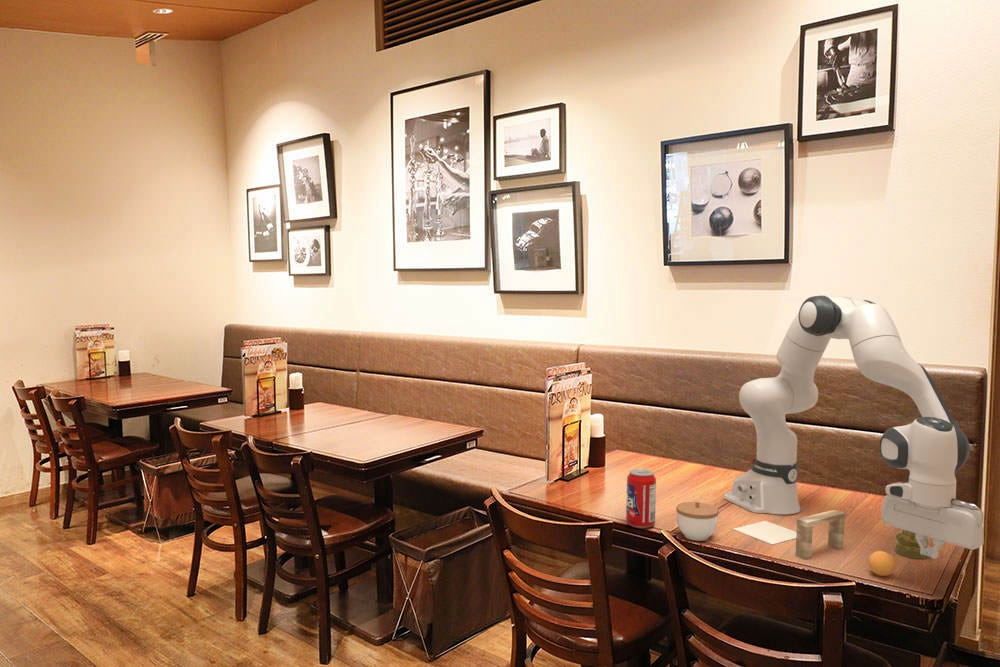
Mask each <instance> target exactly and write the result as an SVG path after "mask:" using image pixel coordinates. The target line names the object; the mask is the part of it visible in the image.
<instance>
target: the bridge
mask: <svg viewBox="0 0 1000 667" xmlns="http://www.w3.org/2000/svg"><path fill="white" fill-rule="evenodd" d="M845 522H846V512H844V511H840V510H837V509H832V510H829V511H824V512H820V513H815V514H811V515H807V516H803V517H800V518H797V519H796V532H797V533H796V539H795V556H796V557H798V558H801V559H802V560H807V561H808V560H810V559H812V556H813V555H812V554H813V532H814V529H813V527H815V526H818V525H823V524H826V523H828V535H827V547H829V548H832V549H835V550H837V551H839V550H844V545H845V527H846V526H845V524H846V523H845Z"/></svg>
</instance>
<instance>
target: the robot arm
mask: <svg viewBox="0 0 1000 667" xmlns="http://www.w3.org/2000/svg"><path fill="white" fill-rule="evenodd" d="M831 339H833V340H834V339H835V340H848V341H849V344H850V349H851V353H852V356H853V360H854V362H855V365H856V367H857V369H858V370H859V372H860V374H862V375H863V376H864V377H866V378H867V379H869V380H871V381H873V382H874V383H875V382H876V383H878V384H882V385H884V386H889V387H892V388H894V389H896V390H899V391H900V392H903V393H905V394H906V395H907V396H909V397H910V398H911V399H912V401H914V403H915V405H916V407H917V409H918V412H919V414H920V415H921V417H917V418H915V419H914V420H913V422H911V423H909V424H905V425H900V426H893V427H889V428H887V429H886V430H885V431H884V432H883V434H882V436H881V438H880V441H879V453H880V456H881V457H882V459H883V460H884V462H885V463H886V464H888V466H890V467H892V468H896V469H900V470H908V471H909V476H908V480H905V481H897V482H893V483H890V484H887V485H885V494H886V495H885V496H884V498H883V500H882V505H881V520H882V522H883V524H884V525H887V526H890V527H893V528H897V529H901V530H906V531H910V532H913V533H916V536H915V538H916V540H917V542H918V544H919V546H920V554H921V555H925V556H928V557H927V558H931V559H933V560H935V559H937V558H938V557H939V550H940V549H941V548H942V547H943V546H944V544H945V543H947V544H951V545H955V546H958V547H961V548H965V549H968V550H976V549H979V548H981V547H982V546H983V545H984V541H985V538H984V527H983V526H984V525H983V523H984V512H983V510H982V508H979V507H978V506H977V505H976V504H975V503H971V502H967V501H963V500H960V499H957V498H956V497H957V478H956V473H955V471H957V470H959V469H960V468H962V466H964V464H965V463H966V462H967V460H968V458H969V456H970V454H971V445H970V442H969V439H968V437H967V435H966V434H965V433H964V432H963V430H962V429H961V427H960V426H959V425H958V424H957V422H956V421H955V420H954V418H953V416H952V413H951V412H950V411H949V408H948V406H947V405H946V403H945V401H944V398H943V397H942V395H941V394H940V391H939V389H938V387H937V386H936V384H935V382H934V380H933V379H932V377H931V375H930V374H929V372H928V371H927V369H926V368H925V367H924V366H923V365H921V364H920V363H918V362H917V361H916V360H914V358H913V357H912V356H911V355H910V353H909V352H908V351H907V350H906V348H905V346H904V344H903V342H902V340H901V336H900V334H899V331H898V328H897V327H896V325H895V323H894V320H893V319H892V316H890V314H889V312H888V310H887V309H886V308H885V307H883V306H882V305H880V304H877V303H875V302H873V301H870V300H868V299H867V300H866V299H859V298H853V297H849V296H827V295H814V296H810V297H808V298H806V299H805V300H804V301H803V302H802V304H801V306H800V308H799V311H798V313H797V315H796V316H795V318H794V319H793V320H792V321H791V323H790V326H789V327H788V329H787V330H786V333H785V336H784V338H783V340H782V341H781V344H780V346H779V348H778V350H777V353H776V360H777V362H778V364H779V366H780V367H781V370H780V372H779V374H778V375H776V376H775V377H774V376H773V377H760V378H756V379H753V380H749V381H748V382H746V383H744V384H743V385H742V386H741V387H740V390H739V394H738V400H739V403H740V406H741V408H742V410H743V411H744V412H745V413H746V414H747V415H749V417H750V418H751V420H752V422H753V425H754V428H755V432H756V433H755V434H756V457H755V458H753V459H748V461H749V462H748V464H752V465H751V468H750V469H748V471H746V472H744V473H742V474H741V475H739V476H737V477H736V478H735V479H734V481H733V483H732V487H731V490H730V491H728V492H726V493H724V495H723V499H724V500H727V501H729V502H730V503H733V504H734V505H736V506H739V507H741V508H743V509H745V510H748V511H750V512H752V513H758V514H771V515H794V514H797V513H800V512H801V506H800V502H799V501H800V500H799V496H798V495H799V494H798V486H797V480H798V479H797V478H798V474H799V473H798V472H799V463H798V461H797V456H798V436H797V434H796V433H795V432H794V431H793V430H792V429H790V428H789V427H788V424H787V421H786V415H789V414H797V413H802V412H804V411H808V410H809V409H812V408H814V407H815V405H816V404H817V403H818V400H819V388H818V387H817V385H816V384H815V381H814V379H815V372H816V370H817V367H818V365H819V363H820V361H821V359H822V357H823V355H824V353H825V351H826V350H827V346H828V345H829V343H830V340H831ZM927 537H928V538H929V539H930V538H931V539H932V543H933V544H934V545H933V546H929V545H927V542H926V540H925V538H927Z"/></svg>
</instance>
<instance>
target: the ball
mask: <svg viewBox="0 0 1000 667" xmlns="http://www.w3.org/2000/svg"><path fill="white" fill-rule="evenodd" d="M868 567H869V569H870V570H871V571H872V572H873V573H874V574H876V575H877V576H881V577H886V576H889V575H892V574H893V573H894V571H895V569H896V562H895V559H894V557H893V556H892V555H891V554H890V553H888V552H887V551H885V550H878V551H874V552H872V553H871V554H870V555H869V557H868Z"/></svg>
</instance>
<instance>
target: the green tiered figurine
mask: <svg viewBox="0 0 1000 667" xmlns="http://www.w3.org/2000/svg"><path fill="white" fill-rule="evenodd" d="M915 536H916V533H913V532H910V531H906V530H903V529H901V530H900V531H898V532H896V533H895V537H894V538H895V540H896V541H895V542H894V545H895V546H894V551H895V552H896V553H897V554H898V555H900V556H901V557H905V558H908V559H915V560H921V559H922V560H923V559H927V558H929V557H928V556H925V555H921V554H920V546H919V544H918V542H917V540H916V538H915ZM925 540H926V542H927V545H928V546H929V545H930V541H931V540H930V537H927V538H925Z"/></svg>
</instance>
